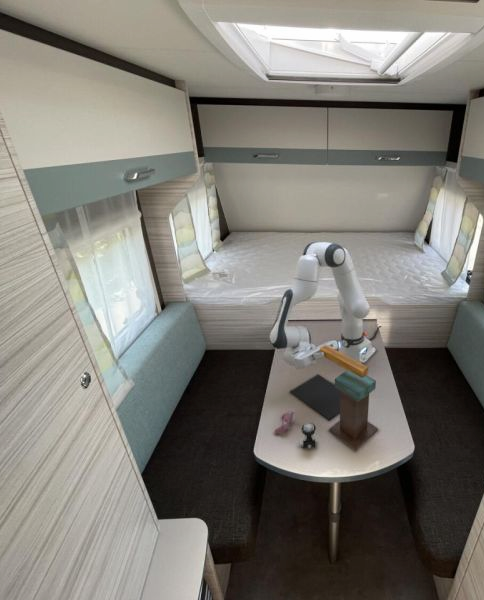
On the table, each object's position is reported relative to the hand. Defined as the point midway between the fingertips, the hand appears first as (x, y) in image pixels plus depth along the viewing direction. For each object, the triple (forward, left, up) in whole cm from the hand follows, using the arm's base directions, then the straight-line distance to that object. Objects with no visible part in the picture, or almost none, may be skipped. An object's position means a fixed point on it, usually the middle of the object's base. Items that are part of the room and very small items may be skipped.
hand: (328, 351), depth 129 cm
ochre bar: (0, +8, -2) cm, 8 cm away
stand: (0, +14, -32) cm, 35 cm away
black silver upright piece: (+18, +6, -32) cm, 37 cm away
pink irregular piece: (+18, -8, -32) cm, 38 cm away
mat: (-6, -10, -32) cm, 34 cm away
